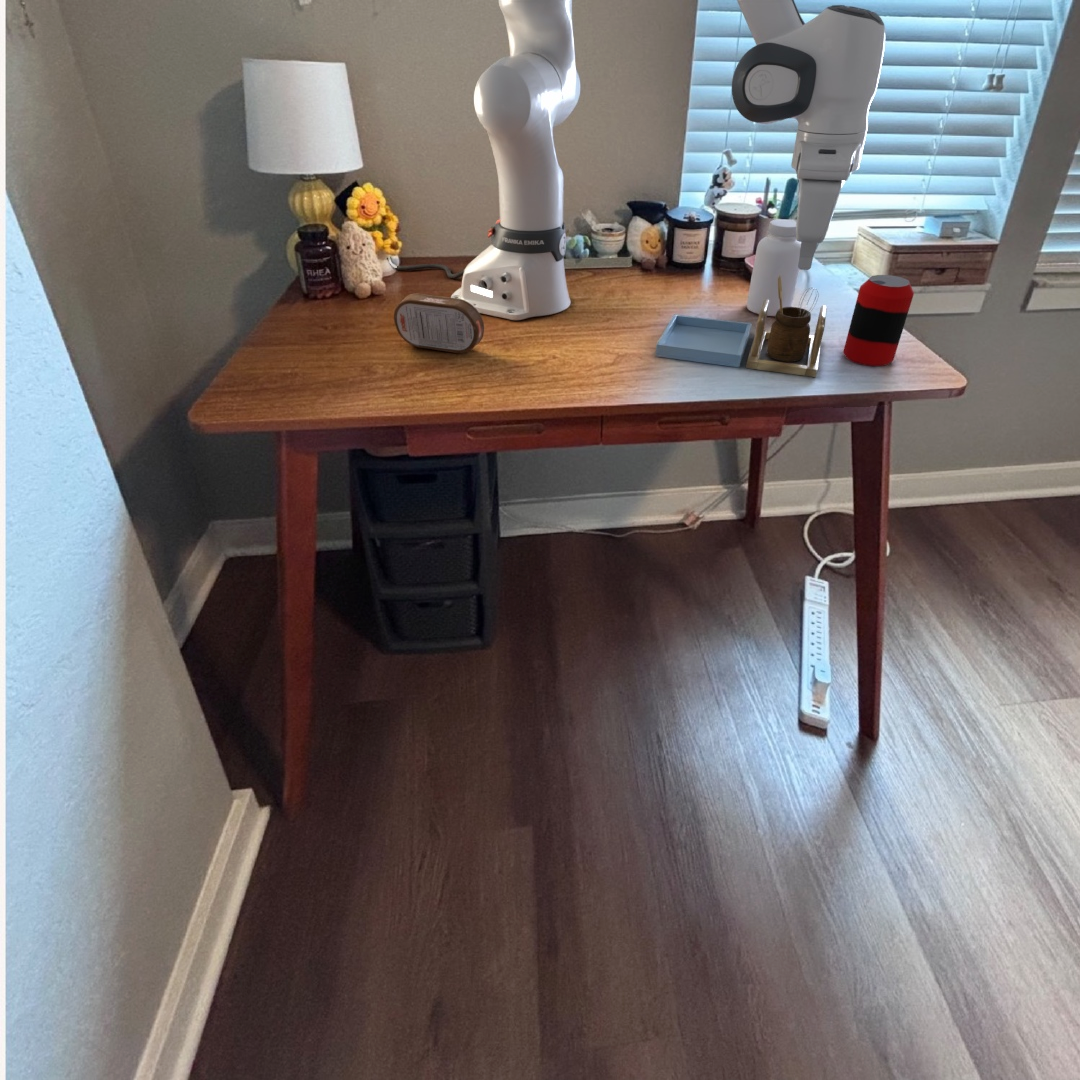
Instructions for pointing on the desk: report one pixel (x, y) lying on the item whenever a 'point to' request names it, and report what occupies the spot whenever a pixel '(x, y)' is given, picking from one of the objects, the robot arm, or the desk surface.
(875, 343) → the soda can
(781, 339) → the utensil holder
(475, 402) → the desk surface
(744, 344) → the tray
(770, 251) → the pill bottle
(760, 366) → the rack
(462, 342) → the tin
